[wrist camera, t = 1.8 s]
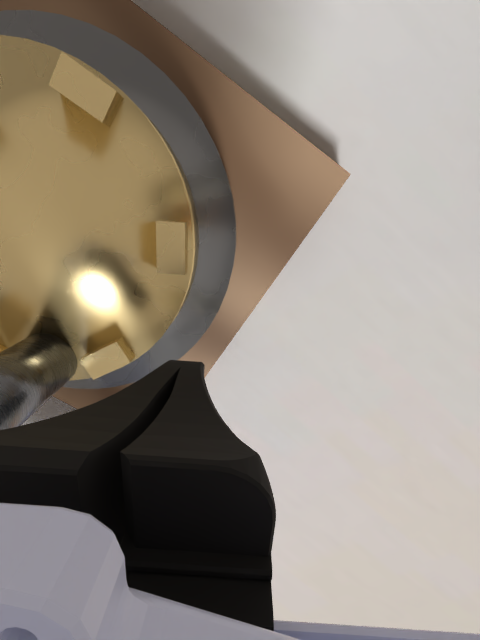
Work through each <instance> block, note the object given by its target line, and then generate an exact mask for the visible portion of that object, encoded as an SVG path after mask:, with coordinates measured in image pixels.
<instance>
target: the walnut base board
mask: <svg viewBox="0 0 480 640" xmlns="http://www.w3.org/2000/svg"><path fill="white" fill-rule="evenodd" d="M3 10H36V11H43V12H49V13H56V14H62V15H65V16H68V17H71V18H74V19H77V20H81V21H84V22H87V23H90V24H92V25H94V26H96V27H98V28H100V29H102V30H104V31H106V32H108V33H110V34H113V35H115V36H117V37H118V38H120V39H121V40H123V41H124V42H126V43H127V44H129V45H130V46H132V47H133V48H135V49H136V50H138V51H139V52H141V53H142V54H143V55H144V56H146V57H147V58H148V59H149V60H150V61H151V62H153V63H154V64H155V65H156V66H157V67H158V68H159V69H161V70H162V71H163V72H164V73H165V74H166V75H167V76H168V77H169V78H170V80H171V81H172V82H173V83H174V84H175V85H176V86H177V87H178V88H179V90H180V91H181V92H182V93H183V94H184V95H185V96H186V98H187V99H188V101H189V102H190V104H191V105H192V106H193V108H194V109H195V111H196V112H197V114H198V115H199V117H200V118H201V119H202V121H203V123H204V125H205V127H206V129H207V130H208V132H209V134H210V136H211V138H212V140H213V142H214V144H215V145H216V148H217V150H218V152H219V155H220V157H221V160H222V163H223V165H224V168H225V170H226V173H227V176H228V179H229V183H230V187H231V191H232V195H233V199H234V207H235V215H236V251H235V259H234V266H233V269H232V273H231V277H230V281H229V285H228V289H227V292H226V294H225V297H224V299H223V301H222V304H221V306H220V309H219V311H218V313H217V314H216V316H215V318H214V319H213V321H212V323H211V325H210V326H209V328H208V329H207V330H206V332H205V333H204V334H203V336H202V337H201V338H200V339H199V341H198V342H197V343H196V344H195V345H194V346H193V347H192V348H191V349H190V350H189V351H188V352H187V353H186V354H185V355H184V356H182V357H181V358H180V359H178V360H181V361H196V362H202V363H203V364H204V365H205V369H204V378H205V376H206V375H207V374H208V372H209V371H210V369H211V368H212V367H213V365H214V364H215V362H216V361H217V360H218V358H219V357H220V355H221V354H222V353H223V351H224V350H225V348H226V347H227V346H228V344H229V343H230V342H231V340H232V339H233V337H234V336H235V335H236V333H237V332H238V330H239V329H240V328H241V326H242V325H243V323H244V322H245V321H246V319H247V318H248V316H249V315H250V314H251V312H252V311H253V309H254V308H255V307H256V305H257V304H258V302H259V301H260V300H261V298H262V297H263V296H264V294H265V293H266V291H267V290H268V289H269V287H270V286H271V284H272V283H273V282H274V280H275V279H276V277H277V276H278V275H279V273H280V272H281V270H282V269H283V268H284V266H285V265H286V263H287V262H288V261H289V259H290V258H291V257H292V255H293V254H294V252H295V251H296V250H297V248H298V247H299V245H300V244H301V243H302V241H303V240H304V238H305V237H306V236H307V234H308V233H309V231H310V230H311V229H312V227H313V226H314V224H315V223H316V222H317V220H318V219H319V218H320V216H321V215H322V213H323V212H324V211H325V209H326V208H327V206H328V205H329V204H330V202H331V201H332V199H333V198H334V197H335V195H336V194H337V192H338V191H339V190H340V188H341V187H342V185H343V184H344V183H345V181H346V180H347V179H348V177H349V176H350V173H348V172H347V171H346V170H345V169H343V168H342V167H341V166H340V165H338V164H337V163H336V162H335V161H333V160H332V159H331V158H330V157H328V156H327V155H326V154H324V153H323V152H322V151H321V150H319V149H318V148H317V147H316V146H314V145H313V144H312V143H311V142H309V141H308V140H307V139H305V138H304V137H303V136H302V135H300V134H299V133H298V132H297V131H295V130H294V129H293V128H292V127H290V126H289V125H288V124H287V123H285V122H284V121H283V120H281V119H280V118H279V117H278V116H276V115H275V114H274V113H273V112H271V111H270V110H269V109H268V108H266V107H265V106H264V105H262V104H261V103H260V102H259V101H257V100H256V99H255V98H254V97H252V96H251V95H250V94H249V93H247V92H246V91H245V90H244V89H242V88H241V87H240V86H238V85H237V84H236V83H235V82H233V81H232V80H231V79H230V78H228V77H227V76H226V75H225V74H223V73H222V72H221V71H219V70H218V69H217V68H216V67H214V66H213V65H212V64H211V63H209V62H208V61H207V60H206V59H204V58H203V57H202V56H201V55H199V54H198V53H197V52H195V51H194V50H193V49H192V48H190V47H189V46H188V45H187V44H185V43H184V42H183V41H182V40H180V39H179V38H178V37H176V36H175V35H174V34H173V33H171V32H170V31H169V30H168V29H166V28H165V27H164V26H163V25H161V24H160V23H159V22H158V21H156V20H155V19H154V18H152V17H151V16H150V15H149V14H147V13H146V12H145V11H144V10H142V9H141V8H140V7H139V6H137V5H136V4H135V3H133V2H132V1H131V0H0V11H3ZM134 383H135V382H134ZM131 384H133V383H130V384H125V385H121V386H117V387H109V388H100V389H75V388H68V387H61V388H60V389H59V390H58V391H57V392H56V393H55V394H54V395H53V396H54V397H56V398H57V399H59V400H61V401H63V402H65V403H67V404H69V405H71V406H73V407H74V408H76V409H80V408H83V407H85V406H88V405H91V404H93V403H96V402H98V401H100V400H102V399H105V398H107V397H109V396H111V395H113V394H115V393H117V392H119V391H121V390H123V389H124V388H126V387H128V386H129V385H131Z"/></svg>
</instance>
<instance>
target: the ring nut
mask: <svg viewBox="0 0 480 640" xmlns="http://www.w3.org/2000/svg"><path fill="white" fill-rule="evenodd" d="M198 252H199V229H198V220H197V214H196V208H195V203H194V199H193V196H192V193H191V189H190V186H189V183H188V180H187V178H186V176H185V173H184V171H183V169H182V166H181V164H180V162H179V160H178V159H177V157H176V155H175V153H174V152H173V150H172V148H171V146H170V145H169V143H168V142H167V140H166V139H165V138H164V136H163V135H162V134H161V132H160V131H159V129H158V128H157V127H156V125H155V124H154V123H153V122H152V121H151V120H150V119H149V118H148V117H147V116H146V115H145V114H144V112H143V111H142V110H141V109H140V108H139V107H138V106H137V105H136V104H135V103H134V102H133V101H132V100H131V99H130V98H129V97H128V96H127V95H126V94H125V93H124V92H123V91H122V90H121V89H119V88H118V87H117V86H116V85H115V84H113V83H112V82H111V81H110V80H109V79H107V78H106V77H105V76H104V75H103V74H101V73H100V72H98V71H97V70H95V69H94V68H92V67H91V66H89V65H87V64H86V63H84V62H83V61H81V60H80V59H78V58H76V57H74V56H72V55H70V54H67V53H65V52H63V51H61V50H59V49H57V48H55V47H52V46H49V45H46V44H43V43H39V42H36V41H33V40H30V39H26V38H19V37H13V36H6V35H0V430H3V429H8V428H13V427H18V426H20V425H22V424H23V423H24V422H25V421H26V420H27V419H28V418H29V417H30V416H31V415H32V414H33V413H34V412H36V411H37V410H38V409H39V408H40V407H41V406H42V405H43V404H44V403H45V402H46V401H47V400H48V399H50V398H51V397H52V396H53V395H54V394H55V393H56V392H57V391H58V390H59V389H60V388H61V387H62V386H64V385H65V384H66V383H67V382H68V381H71V380H80V379H88V378H92V379H93V380H94V379H96V378H99V377H101V376H103V375H105V374H107V373H110V372H112V371H115V370H118V369H120V368H122V367H124V366H126V365H127V364H129V363H131V362H133V361H135V360H136V359H137V358H139V357H140V356H141V355H143V354H144V353H145V352H147V351H148V350H149V349H150V348H151V347H152V346H153V345H154V344H155V343H156V342H157V341H158V340H159V339H160V338H161V337H162V336H163V334H164V333H165V332H166V330H167V329H168V328H169V326H170V325H171V324H172V322H173V321H174V319H175V318H176V316H177V315H178V314H179V312H180V310H181V308H182V307H183V305H184V303H185V301H186V299H187V297H188V295H189V292H190V289H191V287H192V284H193V281H194V277H195V272H196V268H197V263H198Z"/></svg>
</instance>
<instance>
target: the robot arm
mask: <svg viewBox="0 0 480 640" xmlns="http://www.w3.org/2000/svg"><path fill="white" fill-rule="evenodd" d="M204 369H205V365H204V364H203V363H202V362H196V361H181V360H169V361H167V362H165V363H164V364H162V365H161V366H159V367H158V368H157V369H155V370H154V371H152V372H151V373H149V374H147V375H146V376H144V377H143V378H141V379H140V380H138V381H136V382H135V383H133V384H131V385H129V386H128V387H126V388H124V389H123V390H121V391H119V392H117V393H115V394H113V395H111V396H109V397H107V398H105V399H102V400H100V401H98V402H96V403H93V404H91V405H88V406H85V407H83V408H80V409H77V410H74V411H72V412H69V413H66V414H63V415H60V416H56V417H53V418H50V419H46V420H42V421H39V422H35V423H31V424H27V425H23V426H18V427H13V428H8V429H3V430H0V640H480V634H472V633H457V632H442V631H427V630H412V629H397V628H382V627H367V626H352V625H337V624H322V623H307V622H292V621H277V620H273V605H272V590H271V580H272V562H271V549H272V542H273V535H274V528H275V521H276V509H275V502H274V498H273V493H272V489H271V486H270V482H269V479H268V476H267V473H266V470H265V468H264V465H263V463H262V460H261V458H260V456H259V454H258V453H256V452H255V451H254V450H252V449H251V448H250V447H249V446H247V445H246V444H245V443H243V442H242V441H241V440H240V439H239V438H238V437H237V436H235V434H234V433H233V432H232V431H231V430H230V428H229V427H228V426H227V425H226V424H225V422H224V421H223V419H222V418H221V416H220V415H219V413H218V412H217V410H216V408H215V406H214V404H213V402H212V400H211V398H210V395H209V393H208V390H207V387H206V383H205V380H204Z"/></svg>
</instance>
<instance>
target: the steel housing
mask: <svg viewBox="0 0 480 640" xmlns="http://www.w3.org/2000/svg"><path fill="white" fill-rule="evenodd" d="M0 35H6V36H13V37H19V38H26V39H30V40H33V41H36V42H39V43H43V44H46V45H49V46H52V47H55V48H57V49H59V50H61V51H63V52H65V53H67V54H70V55H72V56H74V57H76V58H78V59H80V60H81V61H83V62H84V63H86V64H87V65H89V66H91V67H92V68H94V69H95V70H97V71H98V72H100V73H101V74H103V75H104V76H105V77H106V78H107V79H109V80H110V81H111V82H112V83H113V84H115V85H116V86H117V87H118V88H119V89H121V90H122V91H123V92H124V93H125V94H126V95H127V96H128V97H129V98H130V99H131V100H132V101H133V102H134V103H135V104H136V105H137V106H138V107H139V108H140V109H141V110H142V111H143V112H144V114H145V115H146V116H147V117H148V118H149V119H150V120H151V121H152V122H153V123H154V124H155V125H156V127H157V128H158V129H159V131H160V132H161V134H162V135H163V136H164V138H165V139H166V140H167V142H168V143H169V145H170V146H171V148H172V150H173V152H174V153H175V155H176V157H177V159H178V160H179V162H180V164H181V166H182V169H183V171H184V173H185V176H186V178H187V180H188V183H189V186H190V189H191V193H192V196H193V199H194V203H195V208H196V214H197V220H198V229H199V252H198V263H197V268H196V272H195V277H194V281H193V284H192V287H191V289H190V292H189V295H188V297H187V299H186V301H185V303H184V305H183V307H182V308H181V310H180V312H179V314H178V315H177V316H176V318H175V319H174V321H173V322H172V324H171V325H170V326H169V328H168V329H167V330H166V332H165V333H164V334H163V336H162V337H161V338H160V339H159V340H158V341H157V342H156V343H155V344H154V345H153V346H152V347H151V348H150V349H149V350H148V351H147V352H145V353H144V354H143V355H141V356H140V357H139V358H137V359H136V360H135V361H133V362H131V363H129V364H127V365H126V366H124V367H122V368H120V369H118V370H115V371H112V372H110V373H107V374H105V375H103V376H101V377H99V378H96V379H94V380H93V379H92V378H88V379H80V380H71V381H68V382H67V383H66V384H65V385H64V386H62V387H68V388H75V389H100V388H109V387H117V386H121V385H125V384H130V383H134V382H136V381H138V380H140V379H141V378H143V377H144V376H146V375H147V374H149V373H151V372H152V371H154V370H155V369H157V368H158V367H159V366H161V365H162V364H164V363H165V362H167V361H169V360H178V359H180V358H181V357H182V356H184V355H185V354H186V353H187V352H188V351H189V350H190V349H191V348H192V347H193V346H194V345H195V344H196V343H197V342H198V341H199V339H200V338H201V337H202V336H203V334H204V333H205V332H206V330H207V329H208V328H209V326H210V325H211V323H212V321H213V319H214V318H215V316H216V314H217V313H218V311H219V309H220V306H221V304H222V301H223V299H224V297H225V294H226V292H227V289H228V285H229V281H230V277H231V273H232V269H233V266H234V259H235V251H236V215H235V207H234V199H233V195H232V191H231V187H230V183H229V179H228V176H227V173H226V170H225V168H224V165H223V163H222V160H221V157H220V155H219V152H218V150H217V148H216V145H215V144H214V142H213V140H212V138H211V136H210V134H209V132H208V130H207V129H206V127H205V125H204V123H203V121H202V119H201V118H200V117H199V115H198V114H197V112H196V111H195V109H194V108H193V106H192V105H191V104H190V102H189V101H188V99H187V98H186V96H185V95H184V94H183V93H182V92H181V91H180V90H179V88H178V87H177V86H176V85H175V84H174V83H173V82H172V81H171V80H170V78H169V77H168V76H167V75H166V74H165V73H164V72H163V71H162V70H161V69H159V68H158V67H157V66H156V65H155V64H154V63H153V62H151V61H150V60H149V59H148V58H147V57H146V56H144V55H143V54H142V53H141V52H139V51H138V50H136V49H135V48H133V47H132V46H130V45H129V44H127V43H126V42H124V41H123V40H121V39H120V38H118V37H117V36H115V35H113V34H110V33H108V32H106V31H104V30H102V29H100V28H98V27H96V26H94V25H92V24H90V23H87V22H84V21H81V20H77V19H74V18H71V17H68V16H65V15H62V14H56V13H49V12H43V11H36V10H3V11H0Z"/></svg>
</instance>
